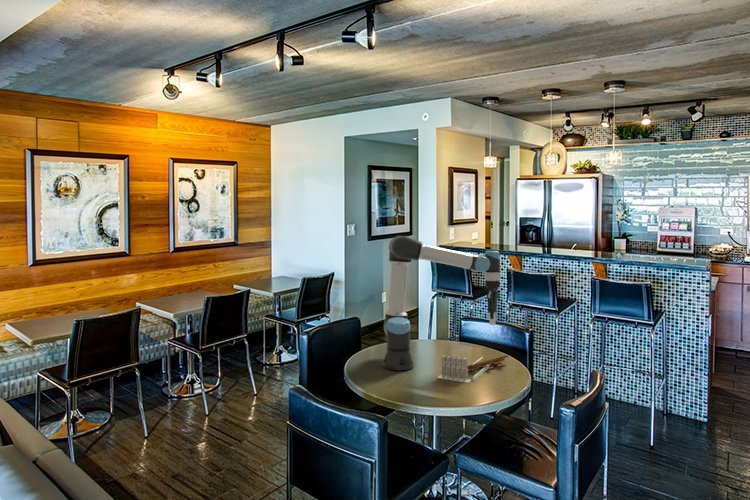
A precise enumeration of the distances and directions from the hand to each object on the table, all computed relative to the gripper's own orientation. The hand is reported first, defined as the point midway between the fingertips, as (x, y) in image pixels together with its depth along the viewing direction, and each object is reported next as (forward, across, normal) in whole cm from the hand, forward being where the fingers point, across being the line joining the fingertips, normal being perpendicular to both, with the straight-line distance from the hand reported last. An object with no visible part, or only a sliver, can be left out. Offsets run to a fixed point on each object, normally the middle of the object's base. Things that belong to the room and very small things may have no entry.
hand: (492, 324), depth 263 cm
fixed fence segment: (+18, -44, +5) cm, 48 cm away
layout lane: (+18, -24, 0) cm, 30 cm away
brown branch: (+17, -18, +1) cm, 25 cm away
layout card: (+18, -45, +5) cm, 48 cm away
